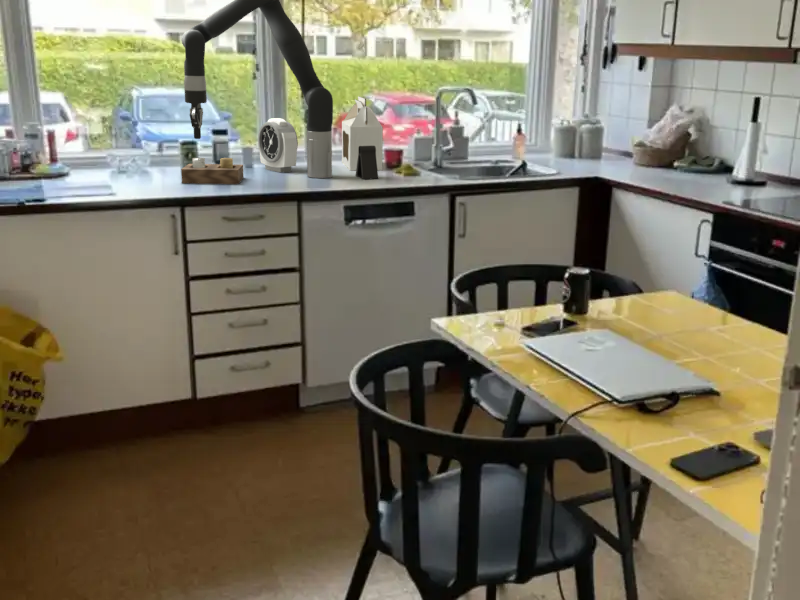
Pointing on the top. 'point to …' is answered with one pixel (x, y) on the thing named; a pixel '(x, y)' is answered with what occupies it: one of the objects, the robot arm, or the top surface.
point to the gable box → (360, 134)
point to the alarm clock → (278, 145)
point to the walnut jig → (214, 173)
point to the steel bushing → (198, 162)
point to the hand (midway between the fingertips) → (197, 138)
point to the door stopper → (367, 163)
